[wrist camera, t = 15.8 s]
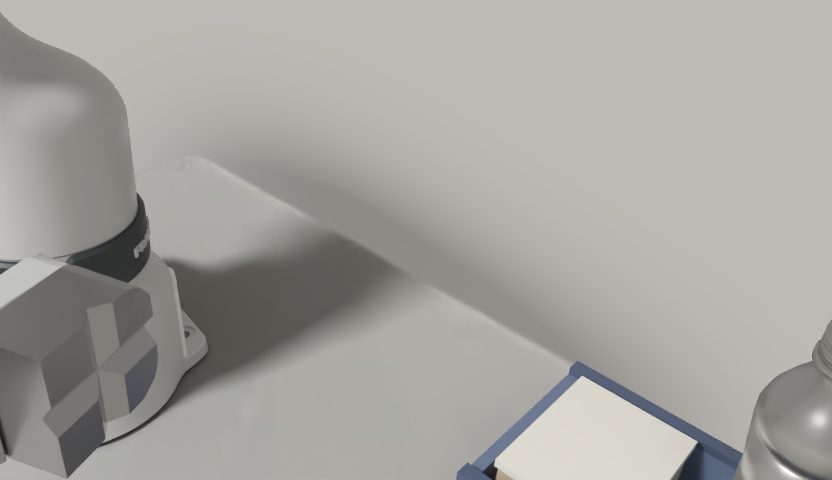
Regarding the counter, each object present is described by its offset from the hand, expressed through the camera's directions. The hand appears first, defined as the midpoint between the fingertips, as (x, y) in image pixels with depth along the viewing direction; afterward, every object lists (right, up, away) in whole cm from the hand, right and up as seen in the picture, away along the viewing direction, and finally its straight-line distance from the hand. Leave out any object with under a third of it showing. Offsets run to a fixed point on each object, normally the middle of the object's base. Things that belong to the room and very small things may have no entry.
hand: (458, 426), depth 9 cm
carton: (+10, -15, +40) cm, 44 cm away
